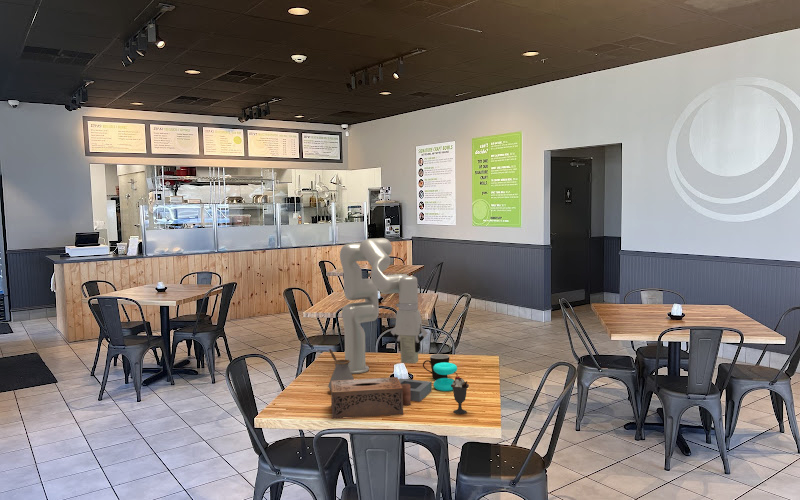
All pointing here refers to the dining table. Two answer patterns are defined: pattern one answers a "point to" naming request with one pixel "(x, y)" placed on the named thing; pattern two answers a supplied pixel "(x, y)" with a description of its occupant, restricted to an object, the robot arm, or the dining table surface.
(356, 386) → the tissue box cover
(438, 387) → the donuts
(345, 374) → the coffee pot
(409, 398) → the medium mahogany dowel
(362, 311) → the robot arm
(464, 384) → the sundae
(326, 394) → the dining table surface
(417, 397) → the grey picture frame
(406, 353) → the skincare box
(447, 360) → the coffee mug
